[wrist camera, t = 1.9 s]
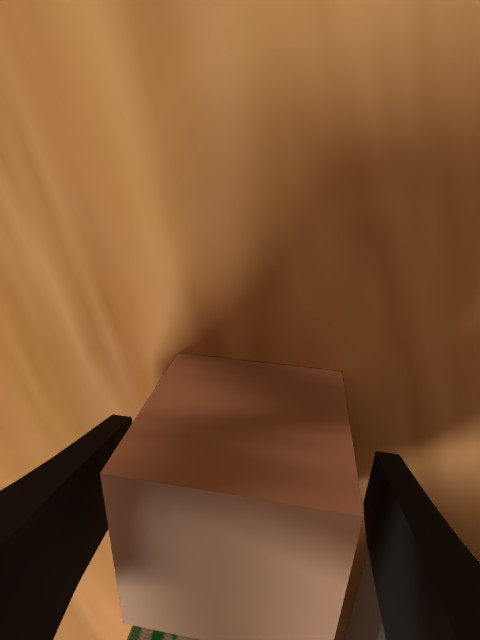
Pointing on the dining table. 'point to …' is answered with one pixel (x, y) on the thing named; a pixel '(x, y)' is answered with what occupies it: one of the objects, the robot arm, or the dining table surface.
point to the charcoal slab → (366, 610)
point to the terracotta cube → (236, 502)
